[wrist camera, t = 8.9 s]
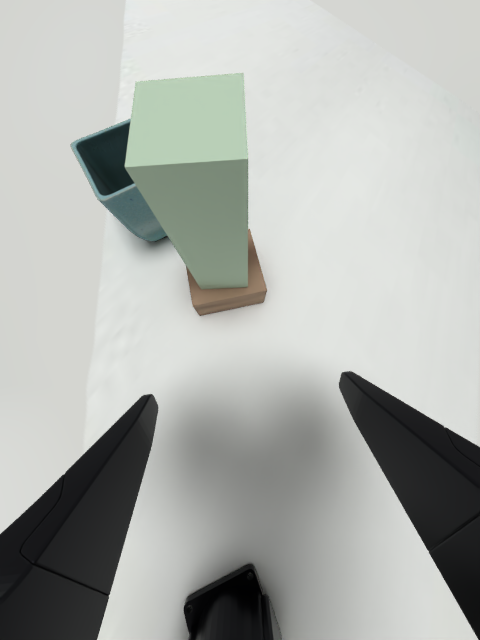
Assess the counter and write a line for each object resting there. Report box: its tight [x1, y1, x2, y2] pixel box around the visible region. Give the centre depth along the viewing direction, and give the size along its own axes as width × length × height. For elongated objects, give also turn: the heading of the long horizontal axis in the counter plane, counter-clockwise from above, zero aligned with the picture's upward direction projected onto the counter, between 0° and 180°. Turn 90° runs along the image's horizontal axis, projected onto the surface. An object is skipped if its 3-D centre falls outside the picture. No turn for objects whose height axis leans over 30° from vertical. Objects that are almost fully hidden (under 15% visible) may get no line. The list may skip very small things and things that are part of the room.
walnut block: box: [186, 229, 267, 316], centre depth 23 cm, size 8×8×4 cm
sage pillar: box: [125, 73, 248, 289], centre depth 15 cm, size 5×5×13 cm
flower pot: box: [71, 119, 167, 241], centre depth 23 cm, size 9×9×9 cm
